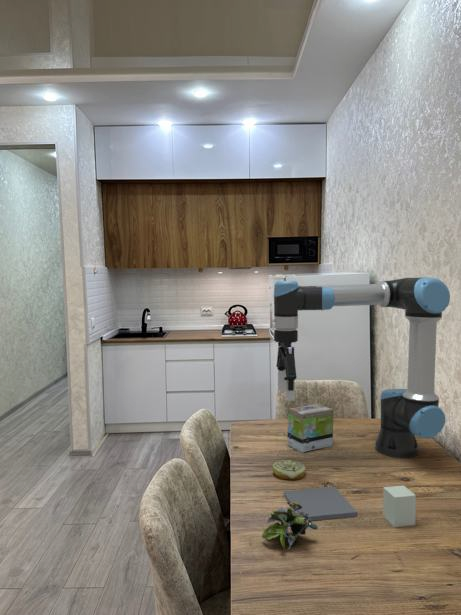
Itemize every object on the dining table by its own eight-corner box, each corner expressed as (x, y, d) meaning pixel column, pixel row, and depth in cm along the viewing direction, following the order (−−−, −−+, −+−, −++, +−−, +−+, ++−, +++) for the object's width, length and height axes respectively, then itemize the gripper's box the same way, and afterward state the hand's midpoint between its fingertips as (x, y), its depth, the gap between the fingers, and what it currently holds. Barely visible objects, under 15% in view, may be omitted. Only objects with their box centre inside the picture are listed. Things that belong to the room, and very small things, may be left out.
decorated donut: (296, 484, 148) (296, 473, 148) (266, 476, 155) (266, 465, 154) (310, 473, 157) (310, 462, 157) (282, 466, 163) (282, 455, 163)
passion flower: (294, 556, 119) (322, 518, 119) (291, 574, 108) (321, 532, 108) (259, 525, 122) (286, 488, 122) (252, 540, 111) (282, 499, 111)
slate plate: (334, 490, 144) (334, 486, 144) (357, 516, 128) (357, 511, 128) (283, 494, 141) (283, 490, 141) (300, 521, 125) (300, 517, 125)
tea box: (303, 453, 174) (303, 414, 173) (286, 445, 183) (286, 408, 182) (333, 446, 182) (334, 408, 181) (316, 438, 190) (316, 402, 189)
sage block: (403, 513, 129) (403, 485, 129) (415, 525, 123) (415, 495, 123) (382, 515, 128) (383, 487, 128) (394, 527, 122) (394, 497, 122)
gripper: (268, 325, 162) (268, 386, 164) (281, 334, 137) (281, 405, 139) (289, 325, 163) (289, 385, 164) (306, 333, 138) (306, 405, 139)
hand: (285, 395), depth 151 cm, fingers open, 13 cm apart
